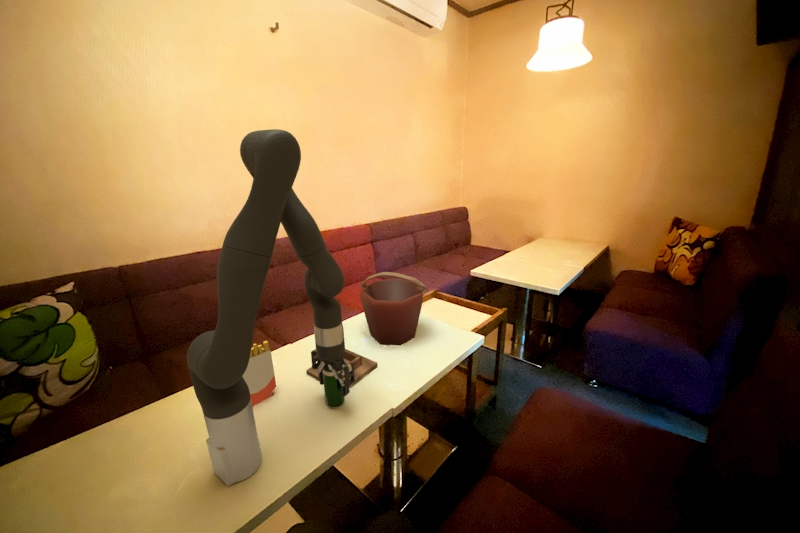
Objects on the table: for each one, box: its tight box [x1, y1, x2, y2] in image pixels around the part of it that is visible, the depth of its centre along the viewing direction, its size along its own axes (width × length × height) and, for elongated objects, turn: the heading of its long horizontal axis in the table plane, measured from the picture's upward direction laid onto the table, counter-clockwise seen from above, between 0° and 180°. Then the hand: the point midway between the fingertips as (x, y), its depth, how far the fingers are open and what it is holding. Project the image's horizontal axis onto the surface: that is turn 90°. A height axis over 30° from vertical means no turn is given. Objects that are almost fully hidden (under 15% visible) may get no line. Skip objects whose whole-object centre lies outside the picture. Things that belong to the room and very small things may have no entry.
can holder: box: [305, 348, 378, 389], centre depth 113 cm, size 16×16×4 cm
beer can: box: [322, 367, 346, 410], centre depth 97 cm, size 5×5×12 cm
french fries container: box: [243, 340, 277, 407], centre depth 98 cm, size 5×11×18 cm, turn 135°
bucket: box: [359, 271, 428, 347], centre depth 130 cm, size 24×22×25 cm
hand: (334, 388), depth 98 cm, fingers open, 8 cm apart
